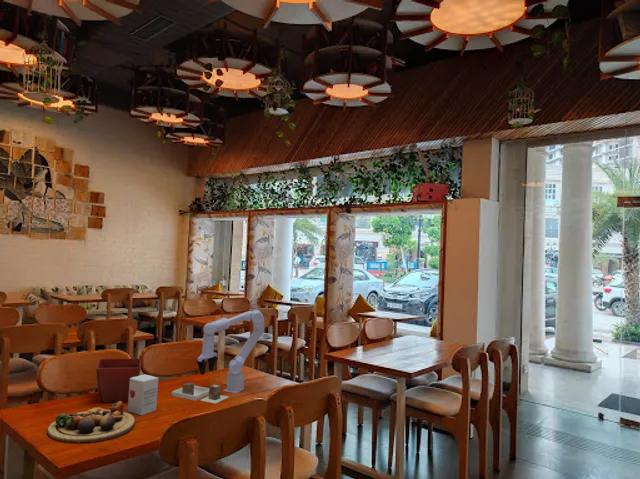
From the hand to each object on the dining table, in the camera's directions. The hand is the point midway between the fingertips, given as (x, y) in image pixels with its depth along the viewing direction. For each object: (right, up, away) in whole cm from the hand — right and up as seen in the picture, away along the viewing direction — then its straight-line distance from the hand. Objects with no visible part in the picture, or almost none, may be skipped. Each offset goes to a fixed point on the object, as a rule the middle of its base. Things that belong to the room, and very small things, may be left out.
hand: (206, 372), depth 253 cm
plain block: (-6, -8, -12) cm, 16 cm away
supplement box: (-21, -8, -35) cm, 42 cm away
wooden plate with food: (-33, -7, -57) cm, 66 cm away
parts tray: (-5, -9, -9) cm, 13 cm away
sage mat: (+7, -10, -13) cm, 18 cm away
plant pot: (-38, -7, -20) cm, 44 cm away
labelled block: (+7, -9, -13) cm, 18 cm away
